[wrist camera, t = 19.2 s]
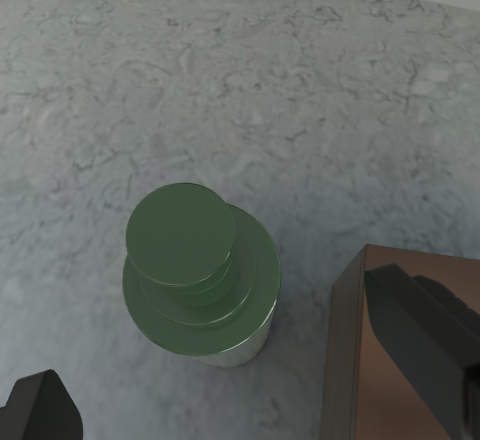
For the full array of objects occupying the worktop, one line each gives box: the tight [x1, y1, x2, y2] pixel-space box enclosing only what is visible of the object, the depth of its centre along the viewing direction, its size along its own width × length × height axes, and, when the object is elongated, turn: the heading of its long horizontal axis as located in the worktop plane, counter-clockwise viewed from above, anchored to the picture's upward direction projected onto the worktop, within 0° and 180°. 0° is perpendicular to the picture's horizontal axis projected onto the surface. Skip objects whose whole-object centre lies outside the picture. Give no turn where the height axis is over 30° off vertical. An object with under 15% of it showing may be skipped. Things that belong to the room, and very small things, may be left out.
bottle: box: [122, 183, 281, 368], centre depth 18 cm, size 5×5×17 cm
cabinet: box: [319, 244, 480, 440], centre depth 19 cm, size 15×12×9 cm
